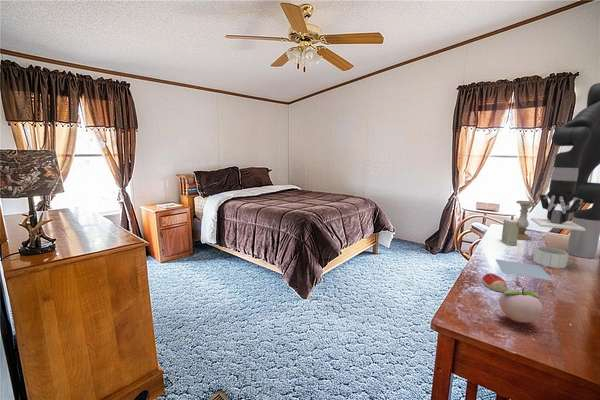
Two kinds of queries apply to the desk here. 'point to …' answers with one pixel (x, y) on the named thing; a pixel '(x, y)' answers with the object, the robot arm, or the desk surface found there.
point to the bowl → (550, 257)
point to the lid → (557, 222)
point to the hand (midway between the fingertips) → (556, 221)
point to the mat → (523, 269)
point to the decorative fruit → (521, 305)
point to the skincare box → (510, 232)
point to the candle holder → (523, 220)
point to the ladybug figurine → (494, 282)
